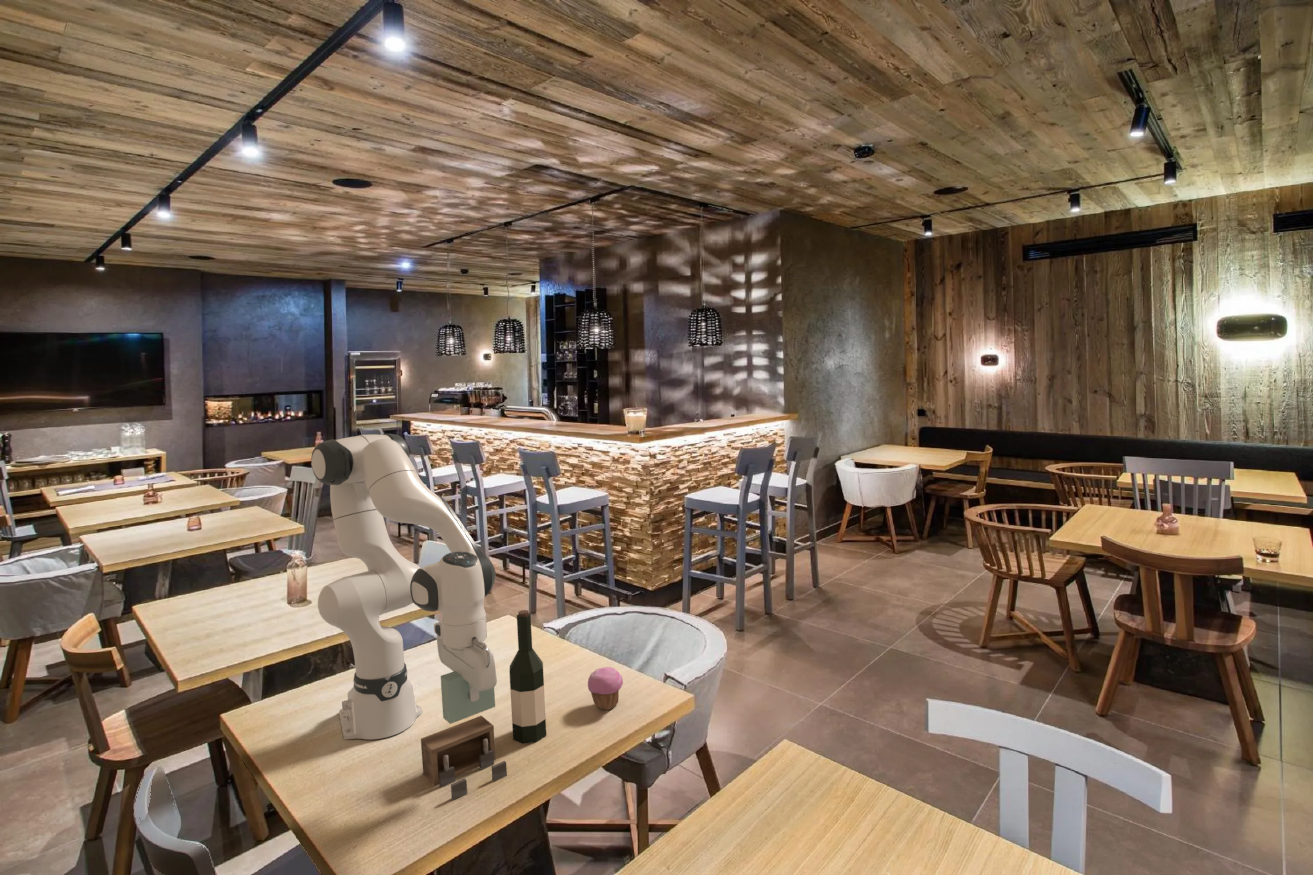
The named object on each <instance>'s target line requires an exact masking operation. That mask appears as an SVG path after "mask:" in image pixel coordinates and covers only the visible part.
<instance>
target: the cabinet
mask: <svg viewBox="0 0 1313 875" xmlns="http://www.w3.org/2000/svg"><path fill="white" fill-rule="evenodd" d="M495 745H496V744H495V728H494V724H492V723H491V722H490V721H488V720H487V719H486V718H485V717H484V716H483V715H478V716H477V717H474V718H471V719H468V720H466V721H464V722H460V723H458V724H456V725H453V726H451V727H447V728H445V729H442V730H439V731H438V732H435V733H432V734H430V735H428V736H427V735H426V736H423V737H422V738H420V747H421V758H422V759H421V760H422V761H421V762H422V763H421V764H422V775H423V776H424V777H425V778H426V780H428V781H429V782H430V783H431V784H432V786H433V787H436V786H440V787H441V788H442V787H446V786H447V785H448V786H449V785H450V793H451V800H452V801H455V800H457V799H459V798H461V797H463V796H466V795H468V786H467V785H468V784H467V779H466V778H462V779H460V780H458V781H456V778H457V777H459V776H461V775H463V774H466V773H468V772H471V771H473V770H475V769H478V768H479V769H480V770H484V769H487V768H489V767H491V778H492V779H491V780H492V781H493V782H496V781H498V780H500V779H503V778H505V777H507V776H508V772H507V770H508V769H507V762H506V761H505V760H502V761H501V762H499V763H496V764H495V761H496V746H495Z"/></svg>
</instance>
